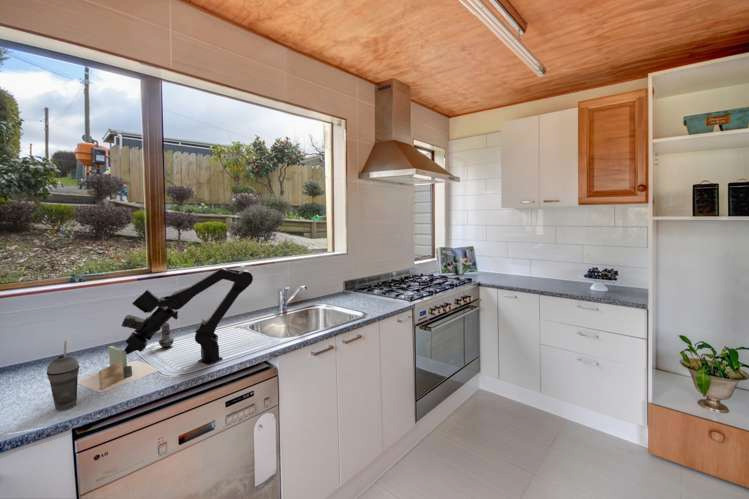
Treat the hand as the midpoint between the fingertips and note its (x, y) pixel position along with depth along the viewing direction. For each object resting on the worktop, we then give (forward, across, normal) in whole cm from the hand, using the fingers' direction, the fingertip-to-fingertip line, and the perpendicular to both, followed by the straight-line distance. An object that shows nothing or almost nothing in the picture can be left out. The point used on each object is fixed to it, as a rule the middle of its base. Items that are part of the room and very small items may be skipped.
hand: (123, 354), depth 128 cm
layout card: (+5, +2, +4) cm, 7 cm away
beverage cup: (+12, +22, -2) cm, 25 cm away
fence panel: (+6, -1, +3) cm, 6 cm away
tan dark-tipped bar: (+5, +8, +4) cm, 10 cm away
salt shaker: (-2, -22, +12) cm, 25 cm away
